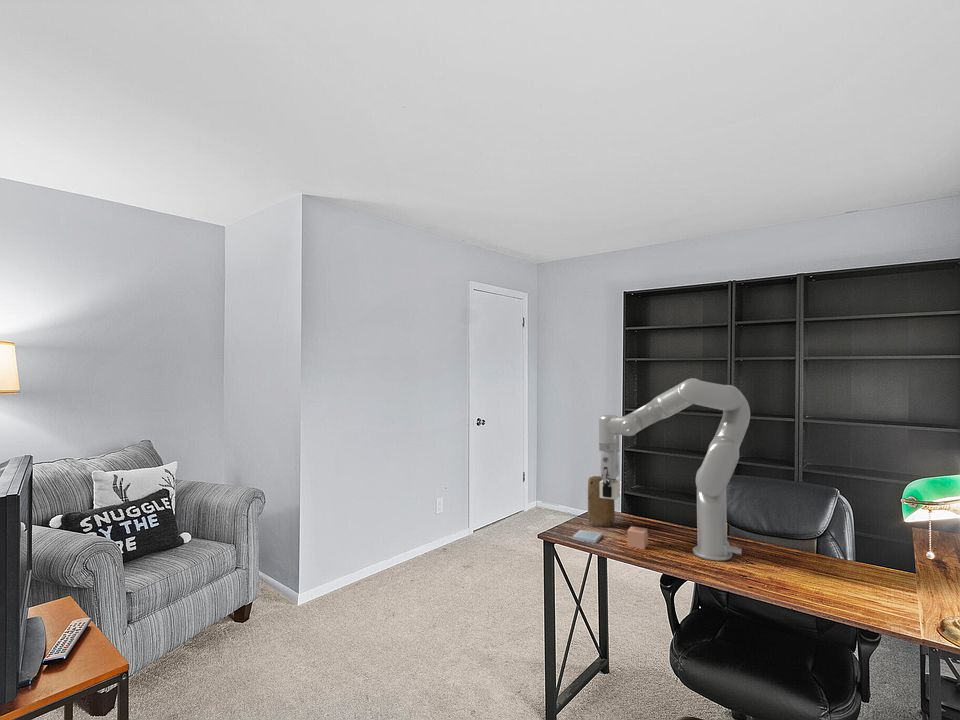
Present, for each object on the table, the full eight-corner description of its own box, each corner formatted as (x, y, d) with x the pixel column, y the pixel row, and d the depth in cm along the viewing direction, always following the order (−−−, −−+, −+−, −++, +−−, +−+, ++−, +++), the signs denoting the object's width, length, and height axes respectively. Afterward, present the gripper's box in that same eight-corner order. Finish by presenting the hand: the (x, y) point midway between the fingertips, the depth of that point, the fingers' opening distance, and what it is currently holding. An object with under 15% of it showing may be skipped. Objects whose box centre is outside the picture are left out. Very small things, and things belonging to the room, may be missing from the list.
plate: (602, 536, 202) (602, 533, 202) (595, 543, 194) (595, 539, 194) (580, 532, 206) (580, 529, 206) (572, 539, 198) (572, 536, 198)
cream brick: (619, 496, 197) (619, 480, 197) (615, 499, 192) (615, 483, 192) (604, 494, 200) (603, 478, 200) (599, 497, 195) (599, 481, 195)
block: (586, 525, 216) (586, 477, 216) (591, 520, 222) (590, 474, 223) (612, 529, 211) (612, 479, 211) (616, 524, 217) (616, 476, 218)
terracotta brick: (647, 544, 192) (647, 528, 192) (644, 549, 187) (644, 533, 187) (631, 542, 195) (631, 526, 195) (627, 547, 189) (627, 530, 190)
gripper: (613, 451, 187) (613, 501, 187) (624, 445, 202) (625, 491, 202) (592, 449, 191) (593, 498, 190) (605, 444, 206) (606, 489, 205)
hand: (609, 494), depth 196 cm, fingers closed on cream brick, 6 cm apart
